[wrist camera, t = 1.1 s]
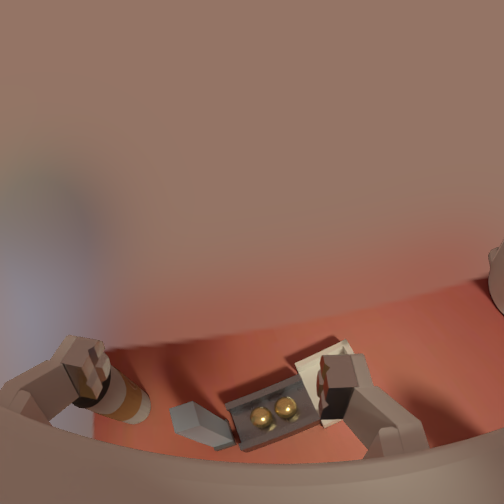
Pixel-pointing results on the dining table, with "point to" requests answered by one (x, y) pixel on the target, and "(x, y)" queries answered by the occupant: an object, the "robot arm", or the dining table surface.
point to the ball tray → (310, 370)
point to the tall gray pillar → (202, 426)
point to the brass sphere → (261, 417)
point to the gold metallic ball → (285, 407)
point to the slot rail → (273, 414)
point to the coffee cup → (118, 399)
